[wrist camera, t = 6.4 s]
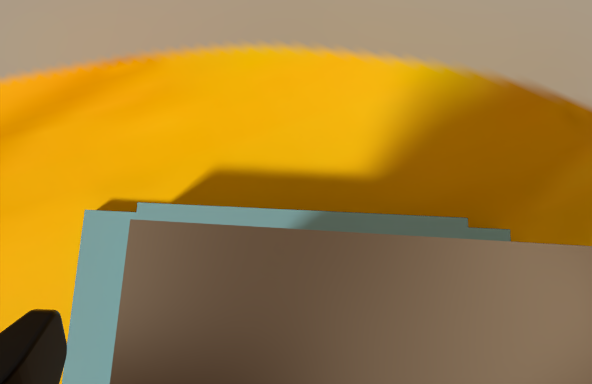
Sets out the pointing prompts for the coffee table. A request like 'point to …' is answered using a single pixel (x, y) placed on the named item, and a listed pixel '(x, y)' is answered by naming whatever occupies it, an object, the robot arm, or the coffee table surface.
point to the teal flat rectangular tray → (115, 225)
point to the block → (348, 308)
